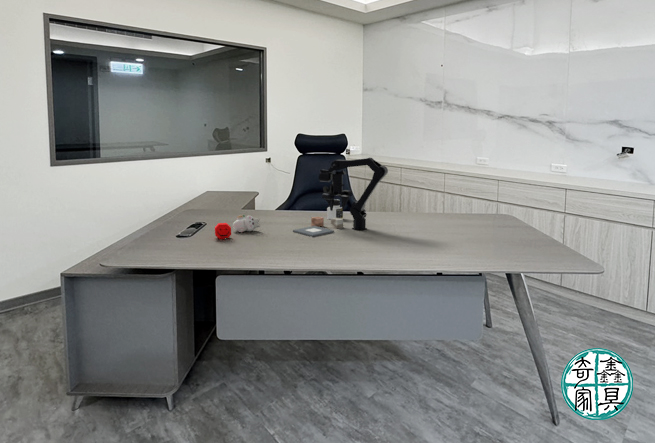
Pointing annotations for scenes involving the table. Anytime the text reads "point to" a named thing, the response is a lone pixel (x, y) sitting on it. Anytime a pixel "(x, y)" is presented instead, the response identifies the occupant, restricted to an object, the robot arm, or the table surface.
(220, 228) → the ball
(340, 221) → the off-white block
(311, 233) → the blue-grey square plate
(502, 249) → the table surface
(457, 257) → the table surface
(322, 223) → the terracotta block
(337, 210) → the medicine bottle
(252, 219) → the cat figurine
